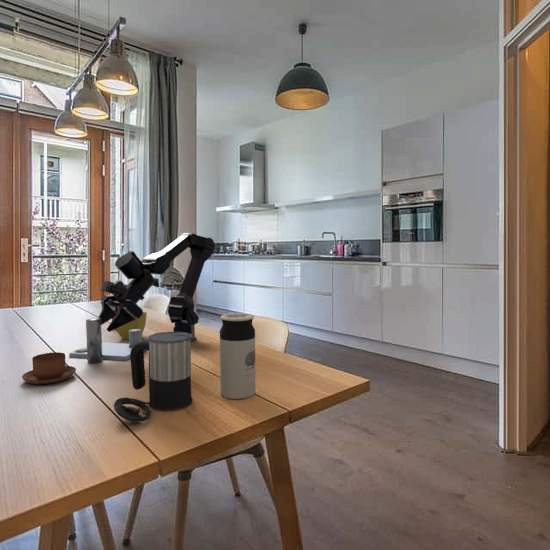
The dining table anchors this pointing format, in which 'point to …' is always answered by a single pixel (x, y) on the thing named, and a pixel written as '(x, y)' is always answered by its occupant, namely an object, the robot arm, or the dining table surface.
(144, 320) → the flower pot
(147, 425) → the dining table surface
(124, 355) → the flange plate
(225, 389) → the travel mug
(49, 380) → the cup and saucer
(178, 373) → the milk frother
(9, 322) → the dining table surface
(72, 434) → the dining table surface
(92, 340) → the grey metallic rounded cylinder
